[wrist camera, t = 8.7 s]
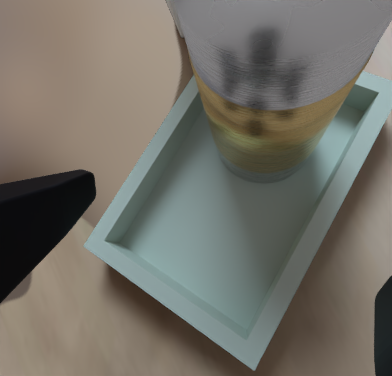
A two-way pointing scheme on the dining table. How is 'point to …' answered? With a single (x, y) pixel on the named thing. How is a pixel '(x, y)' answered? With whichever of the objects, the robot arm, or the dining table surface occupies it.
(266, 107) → the tin can
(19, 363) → the dining table surface
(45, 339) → the dining table surface
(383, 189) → the dining table surface
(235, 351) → the pale green tray
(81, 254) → the dining table surface
